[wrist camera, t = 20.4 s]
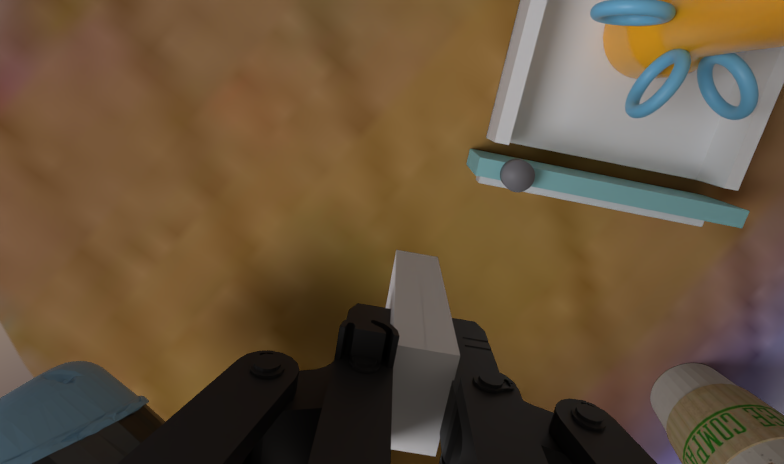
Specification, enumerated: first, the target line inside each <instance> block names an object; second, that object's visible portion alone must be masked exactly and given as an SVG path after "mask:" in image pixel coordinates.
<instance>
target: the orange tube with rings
mask: <svg viewBox="0 0 784 464" xmlns="http://www.w3.org/2000/svg"><path fill="white" fill-rule="evenodd" d="M590 16H591V18H592V19H593V20H595V21H597V22H600V23H604V24H605V27H604V33H603V47H604V50H605V54H606V56H607V58H608V60H609V62H610V64H611V65H612V66H613V67H614V68H615V69H616V70H617V71H618V72H620V73H621V74H623V75H625V76H627V77H630V78H635V79H637V80H636V82H635V83H634V85H633V86H632V88H631V90H630V92H629V94H628V96H627V99H626V102H625V111H626V113H627V114H628V115H629V116H630V117H632V118H643V117H646V116H648V115H650V114H652V113H653V112H655V111H656V110H658V109H659V108H660V107H662V106H663V105H664V104H665V103H666V102H667V101H668V100H669V99H670V98H671V97H672V96H673V95H674V94H675V92H676V91H677V90H678V89H679V87H680V86H681V84H682V83H683V81H684V80H685V78H686V76H687V74H688V73H691V72H693V71H695V70H697V81H698V86H699V89H700V92H701V94H702V96H703V98H704V100H705V101H706V103H707V104H708V105H709V106H710V108H711V109H712V110H713V111H714V112H716V113H717V114H718V115H720V116H722V117H724V118H726V119H730V120H740V119H743V118H746V117H747V116H749V115H750V114H751V113H752V112H753V111H754V109H755V108H756V105H757V102H758V96H759V92H758V85H757V81H756V78H755V76H754V74H753V72H752V70H751V69H750V67H749V66H748V64H747V63H746V62H745V61H744V60H743V59H742V58H741V57H740V56H738V55H737V54H735V53H737V52H745V51H753V50H761V49H768V48H776V47H784V0H607V1H603V2H599V3H597V4H595V5H594V6H593V7H592V9H591V11H590ZM715 64H719V65H722V66H723V67H725V68H726V69H727V70H728V71H729V72H730V73H731V74H732V75H733V77H734V78H735V80H736V82H737V84H738V87H739V90H740V104H739V105H738V106H733V105H731V104H729V103H728V102H726V101H725V100H724V99H723V98H722V96H721V95H720V94H719V92H718V90H717V89H716V86H715V84H714V80H713V67H714V65H715ZM667 77H668V78H667ZM654 78H667V80H666V81H665V83H664V84H663V85H662V86H661V87H660V89H659V90H658V91H657V92H656V93H655V94H654V95H653V96H652V97H650V98H649V99H648V100H647V101H645V102H644V103H642V104H639V103H640V100H641V97H642V95H643V93H644V92H645V90H646V89H647V87H648V86H649V84H650V83H651V82H652V81H653V80H654Z"/></svg>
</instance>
